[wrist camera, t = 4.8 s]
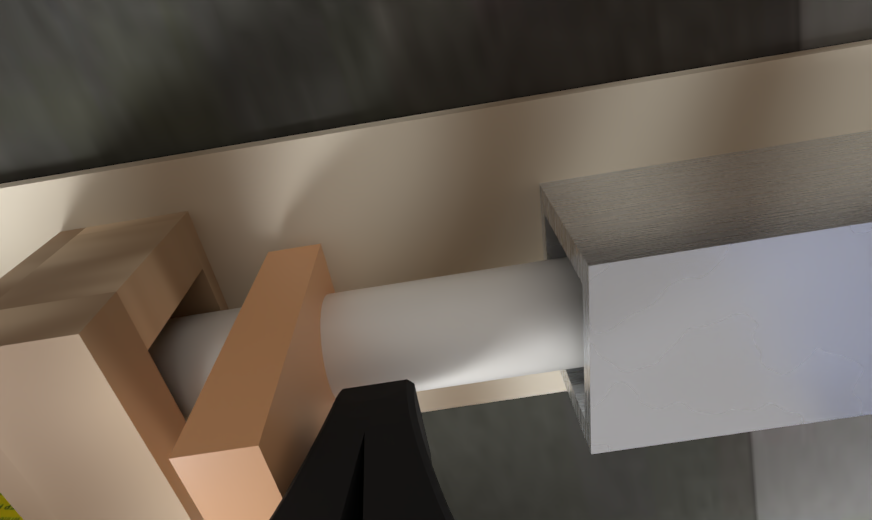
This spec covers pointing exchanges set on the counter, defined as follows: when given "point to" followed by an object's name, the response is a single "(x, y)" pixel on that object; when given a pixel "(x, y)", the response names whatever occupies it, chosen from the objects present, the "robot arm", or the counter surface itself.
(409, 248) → the board
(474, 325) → the plug
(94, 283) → the socket
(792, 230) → the sleeve
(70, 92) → the counter surface
